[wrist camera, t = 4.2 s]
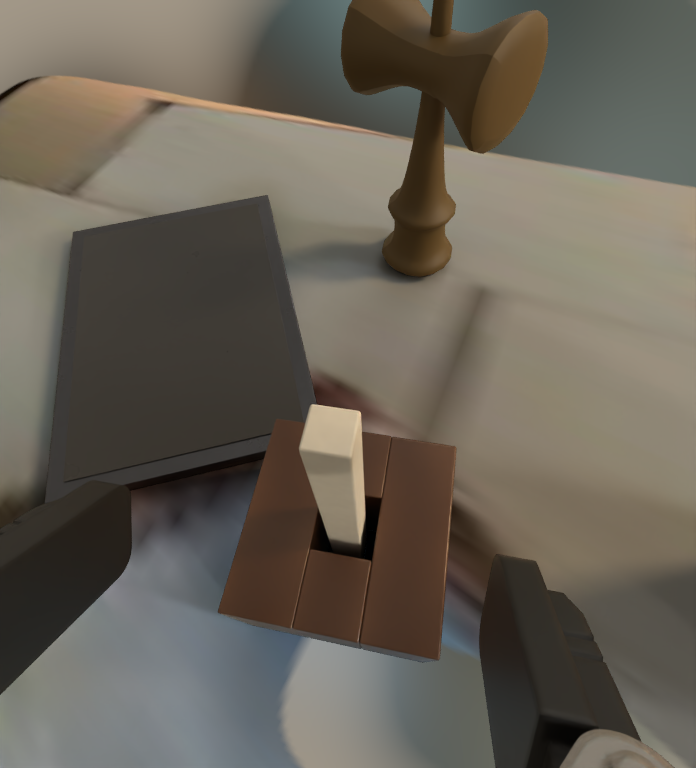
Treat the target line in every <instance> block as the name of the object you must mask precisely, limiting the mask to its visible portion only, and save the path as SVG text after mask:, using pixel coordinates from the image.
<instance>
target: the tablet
mask: <svg viewBox="0 0 696 768" xmlns="http://www.w3.org/2000/svg"><path fill="white" fill-rule="evenodd" d="M312 404H315V405H317V402H316V398H315V393H314V389H313V385H312V381H311V376H310V372H309V368H308V364H307V359H306V355H305V351H304V347H303V342H302V338H301V334H300V330H299V325H298V321H297V317H296V313H295V308H294V304H293V300H292V296H291V291H290V287H289V283H288V279H287V274H286V270H285V266H284V262H283V257H282V253H281V249H280V245H279V240H278V236H277V232H276V228H275V223H274V219H273V215H272V211H271V206H270V202H269V198H268V195H265V196H259V197H254V198H249V199H244V200H238V201H233V202H228V203H223V204H217V205H212V206H207V207H202V208H196V209H191V210H186V211H181V212H175V213H170V214H165V215H160V216H154V217H149V218H144V219H139V220H133V221H128V222H123V223H118V224H112V225H107V226H102V227H97V228H91V229H86V230H81V231H76V232H73V238H72V247H71V257H70V266H69V276H68V285H67V295H66V305H65V314H64V324H63V333H62V343H61V352H60V362H59V371H58V381H57V390H56V400H55V409H54V419H53V428H52V438H51V447H50V457H49V467H48V476H47V486H46V495H45V504H46V503H49V502H52V501H55V500H58V499H60V498H62V497H64V496H65V495H67V494H69V493H70V492H72V491H74V490H75V489H77V488H78V487H80V486H82V485H83V484H85V483H87V482H88V481H91V480H97V481H102V482H108V483H113V484H119V485H124V486H126V487H128V489H129V490H134V489H138V488H142V487H146V486H150V485H155V484H159V483H163V482H167V481H171V480H176V479H180V478H184V477H188V476H192V475H196V474H201V473H205V472H209V471H213V470H217V469H222V468H226V467H230V466H234V465H238V464H243V463H247V462H251V461H255V460H259V459H263V458H264V457H265V454H266V450H267V447H268V444H269V440H270V437H271V434H272V430H273V427H274V424H275V420H276V419H283V420H289V421H296V422H302V423H306V419H307V415H308V411H309V408H310V406H311V405H312Z"/></svg>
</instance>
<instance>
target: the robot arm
mask: <svg viewBox="0 0 696 768" xmlns="http://www.w3.org/2000/svg"><path fill="white" fill-rule="evenodd" d="M131 550H132V529H131V494H130V490H129V489H128V487H126V486H124V485H119V484H113V483H108V482H102V481H97V480H91V481H88V482H87V483H85V484H83V485H82V486H80V487H78V488H77V489H75V490H74V491H72V492H70V493H69V494H67V495H65V496H64V497H62V498H60V499H58V500H55V501H52V502H49V503H46V504H43V505H41V506H38V507H35V508H34V509H32V510H30V511H29V512H27V513H25V514H24V515H22V516H20V517H19V518H17V519H15V520H14V521H13V523H12V524H10V523H9V524H7V525H5V526H4V527H2V528H0V695H1V694H2V693H3V692H4V691H5V690H6V689H7V688H8V687H9V686H10V685H11V684H12V683H13V682H14V681H15V680H16V679H17V678H18V677H19V676H20V675H21V674H22V673H23V672H24V671H25V670H26V669H27V668H28V667H29V666H30V665H31V664H32V663H33V662H34V661H35V660H36V659H37V658H38V657H39V656H40V655H41V654H42V653H43V652H44V651H45V650H46V649H47V648H48V647H49V646H50V645H51V644H52V643H53V642H54V641H55V640H56V639H57V638H58V637H59V636H60V635H61V634H62V633H63V632H64V631H65V630H66V629H67V628H68V627H69V626H70V625H71V624H72V623H73V622H74V621H75V620H76V619H77V618H78V617H79V616H80V615H81V614H83V613H84V612H85V611H86V610H87V609H88V608H89V607H90V606H91V605H92V604H93V603H94V602H95V601H96V600H97V599H98V598H99V597H100V596H101V595H102V594H103V593H104V592H105V591H106V590H107V589H108V588H109V587H110V586H111V585H112V584H113V583H114V582H115V581H116V580H117V579H118V578H119V577H120V576H121V574H122V573H123V572H124V570H125V568H126V566H127V564H128V562H129V559H130V555H131ZM479 649H480V658H481V665H482V672H483V679H484V687H485V694H486V702H487V709H488V716H489V723H490V731H491V737H492V744H493V752H494V759H495V766H496V768H674V767H673V766H672V765H671V764H670V763H669V762H668V761H666V760H665V759H664V758H663V757H662V756H661V755H659V754H658V753H657V752H656V751H654V750H653V749H652V748H650V747H649V746H647V745H645V744H644V743H642V742H641V739H640V737H639V735H638V733H637V731H636V728H635V726H634V724H633V722H632V720H631V717H630V715H629V713H628V711H627V709H626V707H625V704H624V702H623V700H622V698H621V696H620V693H619V691H618V689H617V687H616V685H615V682H614V680H613V678H612V676H611V674H610V672H609V669H608V667H607V665H606V663H605V662H603V656H602V654H601V652H600V650H599V648H598V645H597V643H596V642H594V637H593V634H592V632H591V630H590V628H589V626H588V623H587V621H586V619H585V617H584V615H583V613H582V612H581V611H580V610H579V609H578V608H577V607H576V606H575V605H574V604H573V603H572V602H571V601H570V600H569V599H568V598H567V597H566V595H565V594H564V593H561V592H555V591H550V590H547V588H546V585H545V583H544V580H543V577H542V575H541V572H540V570H539V567H538V565H537V563H536V561H533V560H527V559H522V558H516V557H511V556H505V555H500V554H496V555H495V557H494V560H493V563H492V568H491V573H490V578H489V583H488V588H487V592H486V597H485V602H484V607H483V612H482V617H481V623H480V635H479Z"/></svg>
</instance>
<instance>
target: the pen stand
mask: <svg viewBox="0 0 696 768" xmlns="http://www.w3.org/2000/svg"><path fill="white" fill-rule="evenodd" d="M304 426H305V423H302V422H296V421H289V420H283V419H276V420H275V424H274V427H273V430H272V434H271V437H270V440H269V444H268V447H267V450H266V454H265V457H264V460H263V464H262V467H261V470H260V473H259V477H258V480H257V483H256V487H255V490H254V493H253V497H252V500H251V503H250V507H249V510H248V513H247V516H246V520H245V523H244V526H243V530H242V533H241V536H240V540H239V543H238V546H237V550H236V553H235V556H234V559H233V563H232V566H231V569H230V573H229V576H228V579H227V583H226V586H225V589H224V593H223V596H222V599H221V602H220V606H219V609H218V613H220V614H223V615H225V616H228V617H231V618H234V619H236V620H239V621H242V622H245V623H247V624H250V625H253V626H258V627H262V628H267V629H272V630H276V631H281V632H285V633H290V634H295V635H299V636H304V637H310V638H313V639H318V640H322V641H327V642H331V643H336V644H340V645H345V646H350V647H354V648H359V649H361V648H362V649H364V650H368V651H373V652H377V653H382V654H386V655H391V656H396V657H400V658H404V659H409V660H414V661H418V662H429V661H437V660H439V659H440V651H441V638H442V625H443V613H444V600H445V587H446V574H447V562H448V549H449V536H450V524H451V511H452V498H453V485H454V473H455V460H456V447H455V446H449V445H442V444H436V443H429V442H423V441H416V440H410V439H403V438H397V437H392V438H391V436H386V435H380V434H373V433H367V432H362V449H363V471H364V494H365V516H366V530H369V531H375V532H376V538H375V544H374V551H373V557H372V563H371V561H370V560H366V559H361V558H355V557H350V556H345V555H340V554H335V553H329V552H327V550H328V545H329V538H328V535H327V532H326V529H325V526H324V523H323V520H322V517H321V514H320V511H319V508H318V505H317V503H316V500H315V497H314V494H313V491H312V488H311V485H310V482H309V479H308V476H307V473H306V470H305V467H304V464H303V461H302V458H301V455H300V452H299V445H300V442H301V438H302V434H303V430H304Z"/></svg>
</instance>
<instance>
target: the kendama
mask: <svg viewBox="0 0 696 768" xmlns="http://www.w3.org/2000/svg"><path fill="white" fill-rule="evenodd" d="M453 3H454V0H434V1H433V10H432V17H430V16H429V14H428V13H427V12H426V10H425V9H424V8H423V6H422V4H421V3H420V1H419V0H352V2H351V4H350V5H349V7H348V11H347V15H346V19H345V22H344V26H343V30H342V45H341V59H342V65H343V71H344V76H345V78H346V80H347V81H348V83H349V85H350V87H351V89H352V90H353V91H354V92H357V93H360V94H364V95H372V94H376V93H379V92H382V91H385V90H388V89H391V88H395V87H399V86H409V87H412V88H415V89H418V90H420V91H422V95H421V102H420V108H419V114H418V119H417V125H416V130H415V135H414V140H413V145H412V150H411V154H410V159H409V163H408V167H407V171H406V175H405V178H404V181H403V184H402V186H401V188H400V189H398V190H396V191H395V193H394V194H393V195H392V196H391V197H390V200H389V205H388V209H389V211H390V213H391V215H392V217H393V219H394V220H395V228H394V231H393V232H392V233H391V234H390V235H389V236H388V237H387V238H386V240H385V241H384V244H383V248H382V254H383V256H384V258H385V260H386V262H387V263H388V264H389V265H390V266H392V267H393V268H394V269H395V270H397V271H399V272H401V273H404V274H406V275H411V276H418V277H422V276H426V275H431V274H434V273H436V272H437V271H439V270H441V269H442V268H444V266H445V265H446V264H447V263H448V261H449V260H450V258H451V252H452V246H451V244H450V242H449V241H448V239H447V237H446V236H445V224H446V223H447V222H448V221H449V220H450V219H451V218H452V217H453V216H454V214H455V208H456V204H455V202H454V201H453V199H452V198H451V196H450V195H449V194H447V191H446V186H445V174H444V115H445V114H444V113H445V107H446V108H447V110H448V112H449V113H450V115H451V117H452V119H453V121H454V123H455V125H456V127H457V129H458V131H459V133H460V135H461V137H462V139H463V141H464V143H465V145H466V146H467V148H468V149H469V150H470V151H474V152H478V153H482V154H483V153H485V152H487V151H489V150H491V149H493V148H495V147H496V146H497V145H499V144H500V143H501V142H502V141H503V140H504V139H505V137H507V136H508V135H509V134H510V133H511V132H512V130H513V129H514V127H515V126H516V124H517V123H518V122H519V120H520V119H521V117H522V116H523V114H524V112H525V110H526V108H527V106H528V104H529V102H530V100H531V98H532V96H533V94H534V92H535V89H536V86H537V84H538V81H539V78H540V75H541V73H542V70H543V66H544V61H545V56H546V52H547V46H548V19H547V18H546V17H545V16H544V15H543V14H542V13H541V12H539V11H537V10H533V11H529V12H525V13H522V14H519V15H515V16H512V17H510V18H508V19H506V20H504V21H502V22H500V23H498V24H496V25H494V26H492V27H490V28H488V29H486V30H484V31H481V32H478V33H464V32H459V31H456V30H453V29H451V24H452V13H453Z"/></svg>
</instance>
